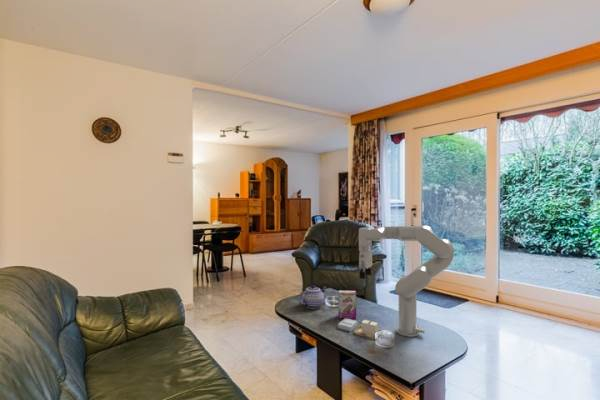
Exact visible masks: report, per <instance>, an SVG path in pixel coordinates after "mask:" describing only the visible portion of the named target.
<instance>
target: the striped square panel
mask: <svg viewBox="0 0 600 400" xmlns="http://www.w3.org/2000/svg"><path fill="white" fill-rule="evenodd" d="M358 326H359V324H358V321H357V320H356V319H348V318H343V319H342V320H341V321H340V322H338V324H337V328H338V329H339V330H343V331H344V330H345V331H346V332H348V331H349V332H353V331H354V330H355V329H356V328H357V327H358Z"/></svg>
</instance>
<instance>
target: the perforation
mask: <svg viewBox="0 0 600 400" xmlns="http://www.w3.org/2000/svg"><path fill="white" fill-rule="evenodd" d="M336 330H337V331H340V332H342V329H339V328H338V329H337V328H336ZM343 332H345V333H347V334H349V333H350V331H349V332H348V331H347V330H345V331H344V330H343Z"/></svg>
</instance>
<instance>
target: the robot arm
mask: <svg viewBox="0 0 600 400" xmlns="http://www.w3.org/2000/svg"><path fill="white" fill-rule="evenodd" d="M382 240H397V241H400V242H418V243H419V244H420V245H422V247H424V248H426V249H427V250H428V251H429V252H430V253H432V254H433V256H432V257H431V258H429V259H428V260H426V261H425V262H424V263H422V264H420V265H418V266H417V267H415V269H414V270H413V271H412V272H411V273H409V274H406V275H402V276H401V277H400V278H399V279H398V281H397V282H396V284H395V285H394V287H395V288H394V289H395V293H396V294H397V295H398V325H397V326H396V327H395V331H396V333H397V334H399V335H401V336H403V337H410V338H412V337H417V336H420V333H421V334H425V333H426V332H425V331H426V330H425V329H424V328H423V327H420V326H419V324H418V323H417V321H418V320H417V297H418V296H417V295H418V293H419V292H420V291H422V290H423V289H425V288H426V287H428V286H429V284H430V283H431V281H432V280H433V279H434V278H435V277H437V276H438V275H439V274H440V273H442V272H443V271H445V270H446V269H447V268H448V267H449V266H450V265H451V264H452V262H453V259H454V256H455V250H454V249H455V248H454V246H453V244H452V242H451V241H450V240H448V239H447V238H440V237H439V236H438V235H437V234H435V233H434V230H433V229H432V227H431V226H429V225H425V224H423V225H401V226H400V225H399V226H378V227H376V228H371V227H359V229H358V251H359V253H358V255H359V257H358V271H359V279H361V280H365V279H366V275H367V276H372V266H373V253H372V251H373V249H372V246H373V244H372V243H373V242H380V241H382Z"/></svg>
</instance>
